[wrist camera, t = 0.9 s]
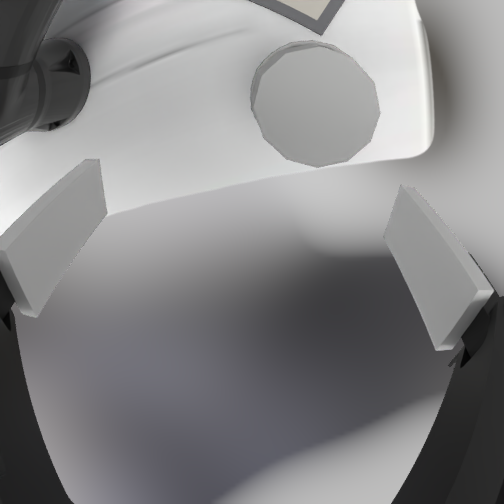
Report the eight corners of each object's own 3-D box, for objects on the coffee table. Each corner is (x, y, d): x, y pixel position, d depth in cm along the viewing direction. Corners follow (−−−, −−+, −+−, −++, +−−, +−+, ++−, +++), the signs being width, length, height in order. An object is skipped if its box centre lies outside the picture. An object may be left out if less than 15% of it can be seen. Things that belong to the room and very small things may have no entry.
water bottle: (249, 91, 35) (217, 136, 15) (279, 41, 31) (292, 6, 11) (311, 125, 37) (361, 214, 17) (342, 77, 33) (438, 109, 13)
